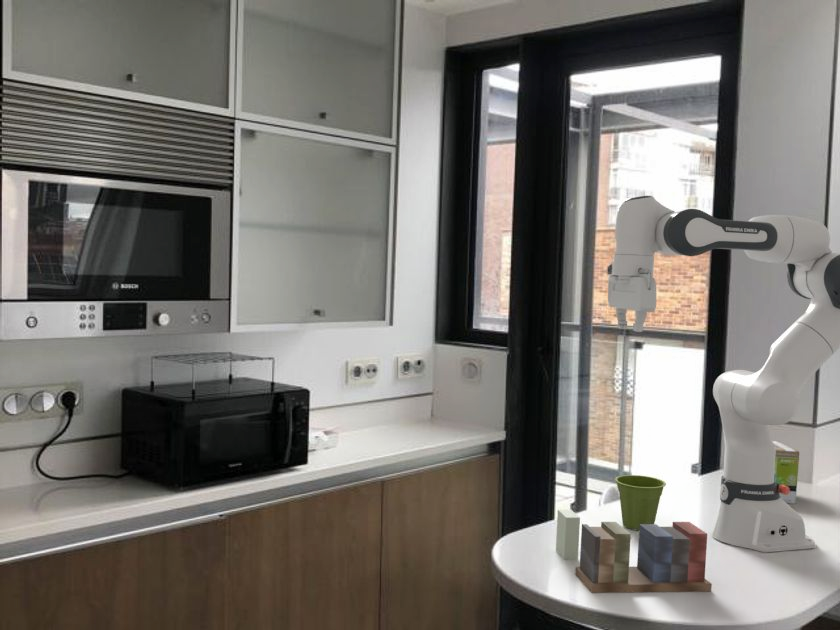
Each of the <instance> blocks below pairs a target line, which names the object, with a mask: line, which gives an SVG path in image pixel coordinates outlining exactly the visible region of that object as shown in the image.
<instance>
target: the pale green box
mask: <svg viewBox="0 0 840 630" xmlns="http://www.w3.org/2000/svg"><path fill="white" fill-rule="evenodd" d="M556 518H557V519H556V521H557V522H556V535H555V536H556V540H555V541H556V542H555V551H556V552H557V554H559V556H560V557H561V559H563V560H568V561H569V560H570V561H572V560H579V545H580V544H579V542H580V523H581V517H580V516H579V515H577V513H576V512H574V511H573V510H572V509H557V517H556Z"/></svg>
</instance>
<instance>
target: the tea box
mask: <svg viewBox="0 0 840 630" xmlns="http://www.w3.org/2000/svg"><path fill="white" fill-rule="evenodd" d="M772 442H773V443H774V446H775V449H776V456H775V472H774V481H775V482H776V483H778V484H779V485H785V486H788V487H789V488H790V489H788V490H790V491H789V492H790V493H788V495H784V494H782V493H780V492H779V494H780V498H781V499H782V500H783V501H784V502H785V503H787V504H796V502H797V501H796V500H797V489H798V488H797V487H798V478H799V477H798V476H799V464H800V463H799V462H800V450H798V449H796V448H793V447H791V446H789V445H787V444H784V443H783V442H780V441H775V440H774V441H773V440H772Z"/></svg>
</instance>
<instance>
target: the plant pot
mask: <svg viewBox="0 0 840 630" xmlns="http://www.w3.org/2000/svg"><path fill="white" fill-rule="evenodd" d="M614 481H615V482H616V483H617V491H618V494H619V503H620V511H621V512H620V513H621V519H622V527H623V528H624V527H625V529H632V530H633V531H638V532H639V525H640V524H656V523H655V522H656V518H657V513H658V508H659V505H660V500H661V496H662V495H663V490H664V487H666V485H667V483H666V482H665V481H664V480H663V479H659V478H657V477H651V476H648V475H636V474H624V475H620V476H616V477H615V479H614Z"/></svg>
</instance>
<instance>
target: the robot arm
mask: <svg viewBox="0 0 840 630" xmlns="http://www.w3.org/2000/svg"><path fill="white" fill-rule="evenodd" d="M615 219H616V220H615V228H614V229H615V231H614V238H615V241H616V242H615V245H616V246H615V249H614V251H613V259H612V262H610V263H609V265H608V266H607V267H606V275H607V276H609V277H608V280H607V302H608V306H609V307H610V308H614V309H615V316H616V320H617V326H616V327H617V328H618V329H621V330H624V329H628V320H627V315H626V314H628V313H627V312H628V311H634V316H635V319H634V322H633V323H632V331H633V332H637V333H642V332H643V331H644V324H645V322H646V319H647V314H648V313H651V312H652V313H653V312H655V310H656V308H657V281H656V278H654V267H655V254H656V253H659V254H660V255H664V256H686V257H697V256H700V255H703V254H705V253H707V252H710V251H712V250H718V249H719V250H721V249H722V250H739V251H744V253H745V255H746V256H747V257H748V258H749V259H751V260H754V261H757V262H764V263H768V264H769V263H770V264H771V263H772V264H786V266H787V273H786V274H787V275H786V276H787V282H788V285H789V286H788V287H789V288H790V289H791V291H792V292H793V293H794V294H795V295H796V296H799V297H801V298H804V299H807V300H810V301H809V305H808V307H807V309H806V310H805V312H804V314H802V315H800V317H799V318H798V319H797V320H796V321H795V322H793V323H792V324H791V325H790V326H789V327H788V328H787V329H786V330H785V331H784V332H783V333H782V334H781V335H780V336H779V337H778V338H777V339H776V340H775V341H774V342H772V344H771V345H770V347H769V355H768V358H767V359H766V361H765V363H764V364H763V365H762V367H761V368H760V369H759V370H757V371H756V372H755V371H754V372H753V371H749V370H746V369H735V370H732V369H731V370H729V371H726V372H723V373H721V374H720V375H719V376H717V378H716V379H715V381H714V383H713V386H712V387H713V388H712V395H713V399H714V401H715V402H716V404H717V406H718V410H719V414H720V421H721V425H722V431H723V439H724V458H723V459H724V460H723V473H722V474H723V475H721V478H720V479H721V480H720V489H719V500H720V506H719V510H718V515H717V518H716V522H715V526H714V529H713V531H712V533H711V534H712V537H713V538H715V540H717V541H720V542H723V543H725V544H727V545H732V546H736V547H741V548H746V549H751V550H755V551H758V552H762V553H771V552H783V551H794V550H795V551H797V550H807V549H808V550H809V549H815V548H816V542H815V540H814V539H813V538H811V537H810V536H808V535H807V534H806V527H805V522H804V519H803V517H802V516H801V515H800V514H799V513H798V512H797V511H796V510H795V509H794V508H792V507H791V506H790V505H789V503H785V502H784V501H783V500H782V499H781V498H780V494H779V492H780V493H782V494H784V495H788V493H790V492H789V491H790V490H788V489H790V488H789V487H788V486H785V485H779V484H778V483H776V482H775V481H774V472H775V456H776V449H775V446H774V443H773V442H772V441H773V440H772V438H771V435H770V431H769V426H781V425H785V424H787V423H789V422H790V421H791V420H793V418H794V417H795V416H796V414H797V413H798V410H799V406H800V402H799V401H800V400H799V396H800V394H801V392H802V391H803V389H804V387H805V386H806V384H807V382H808V381H809V379H811V377H812V376H813V375H814V374H815V373H816V372H817V371H818V370H819V369H820V368H822V366H823V365H824V364H825V363H826V362H827V361H828V360H829V359H830V358H831V357H832V356H833V355H834V354H835V353H836V352H838V350H839V349H840V253H838V252H836V253H835V252H833V251H831V249H830V241H831V237H830V231H829V230H828V228H827V227H826V225H824V223H822V222H820V221H818V220H815V219H812V218H811V219H810V218H807V217H802V216H797V215H796V216H795V215H787V214H786V215H785V214H782V215H781V214H766V215H758V216H753V217H752V218H750V219H749V220H735V219H734V220H731V219H720V218H717V217H715V216H713V215H711V214H709V213H707V212H705V211H703V210H700V209H697V208H687V209H683V210H680V211H675V210H672V209H670V208H667V206H664V205H663V204H661V203H660V202H659V201H658V200H657V199H656V198H655V197H654V196H652V195H641V196H640V195H639V196H634V197H628V198H626V199H622V201H621V202H620V203H619V204H618V208H617V212H616V218H615Z"/></svg>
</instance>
